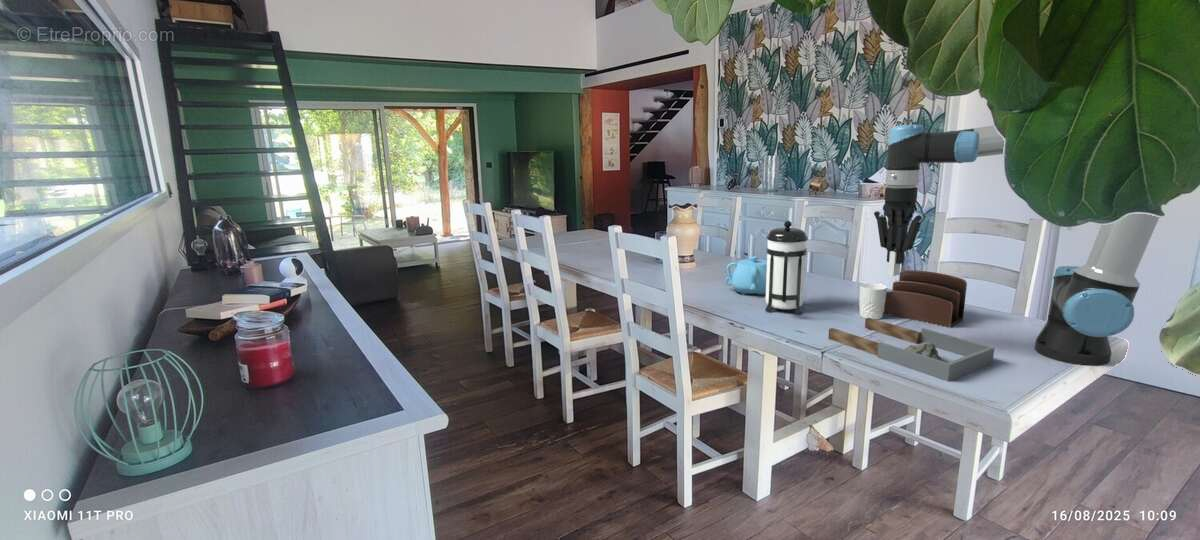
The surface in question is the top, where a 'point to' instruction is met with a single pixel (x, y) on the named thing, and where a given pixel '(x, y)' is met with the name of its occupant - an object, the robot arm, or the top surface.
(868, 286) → the white cup
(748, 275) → the decorative pot
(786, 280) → the coffee press
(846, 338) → the slot rails
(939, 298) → the letter holder
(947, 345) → the tray
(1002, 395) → the top surface
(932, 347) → the fossilized seashell
